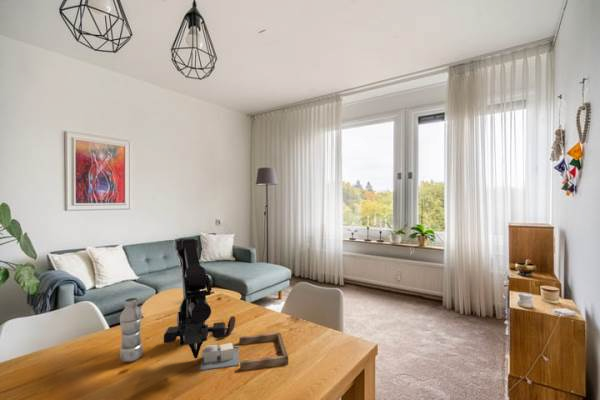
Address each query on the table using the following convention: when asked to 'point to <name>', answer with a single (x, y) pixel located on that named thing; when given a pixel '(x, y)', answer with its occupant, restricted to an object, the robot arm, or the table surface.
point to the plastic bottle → (131, 331)
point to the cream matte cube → (210, 353)
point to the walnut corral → (264, 361)
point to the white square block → (226, 351)
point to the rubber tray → (221, 363)
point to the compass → (230, 326)
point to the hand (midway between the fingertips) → (196, 357)
